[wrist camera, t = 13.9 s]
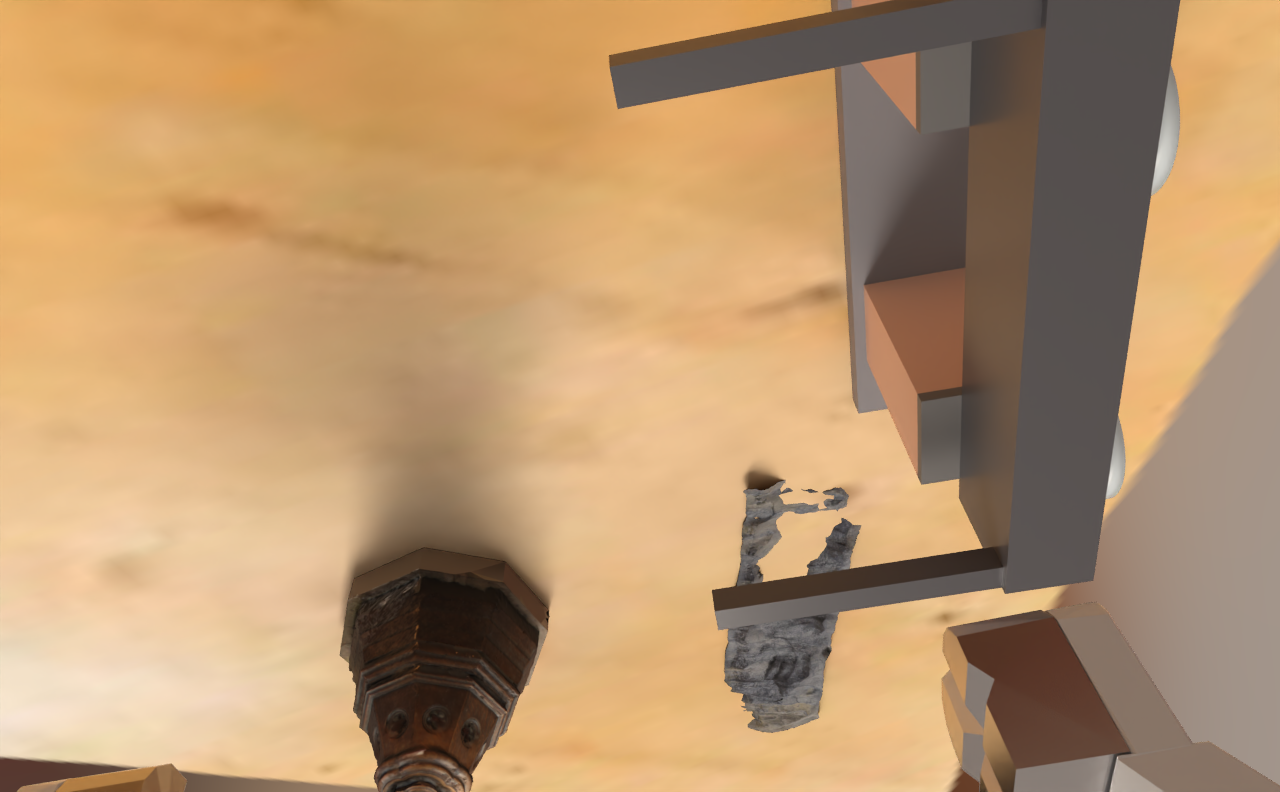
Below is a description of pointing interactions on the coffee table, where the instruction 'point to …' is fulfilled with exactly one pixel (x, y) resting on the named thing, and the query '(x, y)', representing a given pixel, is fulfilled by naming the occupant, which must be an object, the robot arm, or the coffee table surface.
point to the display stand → (907, 241)
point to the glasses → (999, 262)
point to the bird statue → (439, 663)
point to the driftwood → (784, 621)
